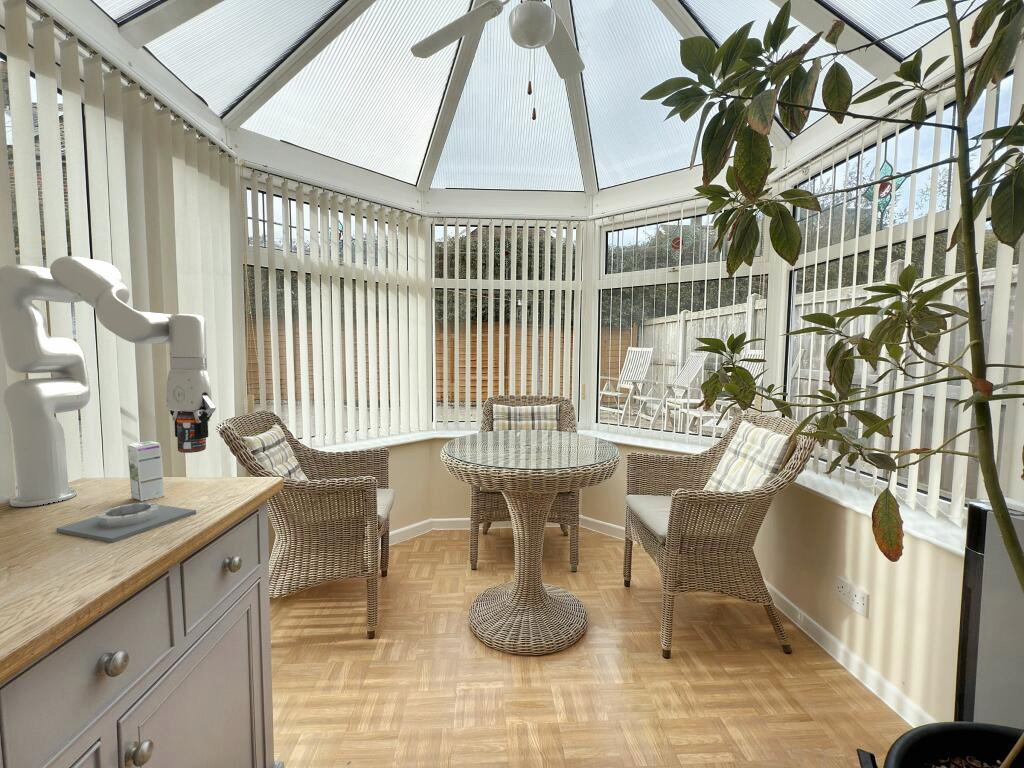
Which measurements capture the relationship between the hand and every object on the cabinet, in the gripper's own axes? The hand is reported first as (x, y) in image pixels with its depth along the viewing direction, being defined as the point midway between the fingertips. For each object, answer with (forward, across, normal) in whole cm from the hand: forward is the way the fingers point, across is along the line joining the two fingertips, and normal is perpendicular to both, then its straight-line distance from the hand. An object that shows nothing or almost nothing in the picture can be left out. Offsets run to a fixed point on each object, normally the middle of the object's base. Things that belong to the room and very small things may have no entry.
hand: (191, 436), depth 121 cm
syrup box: (+18, -17, 0) cm, 25 cm away
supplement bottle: (+4, 0, 0) cm, 4 cm away
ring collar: (+17, -2, -14) cm, 22 cm away
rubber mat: (+17, -2, -14) cm, 22 cm away
